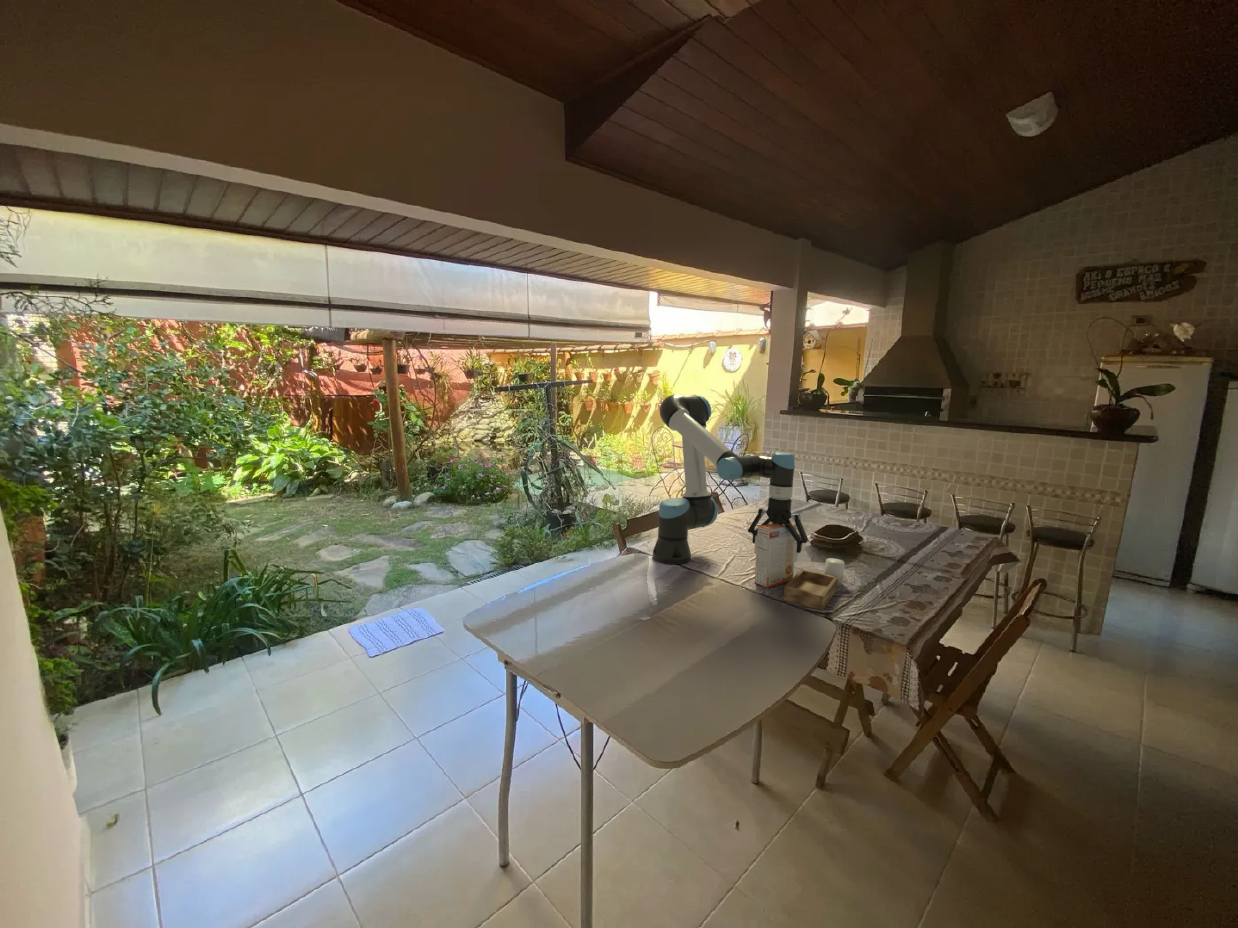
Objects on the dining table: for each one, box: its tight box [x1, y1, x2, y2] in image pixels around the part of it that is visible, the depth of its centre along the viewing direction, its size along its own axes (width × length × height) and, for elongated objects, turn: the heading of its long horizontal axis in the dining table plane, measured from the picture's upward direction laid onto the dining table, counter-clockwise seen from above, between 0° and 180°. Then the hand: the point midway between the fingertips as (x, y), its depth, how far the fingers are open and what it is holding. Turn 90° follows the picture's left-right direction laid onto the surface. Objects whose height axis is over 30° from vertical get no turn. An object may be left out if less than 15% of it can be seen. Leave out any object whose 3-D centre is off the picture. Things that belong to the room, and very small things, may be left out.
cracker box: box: [754, 522, 798, 589], centre depth 169 cm, size 14×6×21 cm, turn 122°
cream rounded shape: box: [824, 557, 845, 587], centre depth 171 cm, size 6×6×8 cm
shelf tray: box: [782, 568, 838, 611], centre depth 161 cm, size 12×20×4 cm, turn 144°
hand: (775, 556), depth 170 cm, fingers open, 13 cm apart
